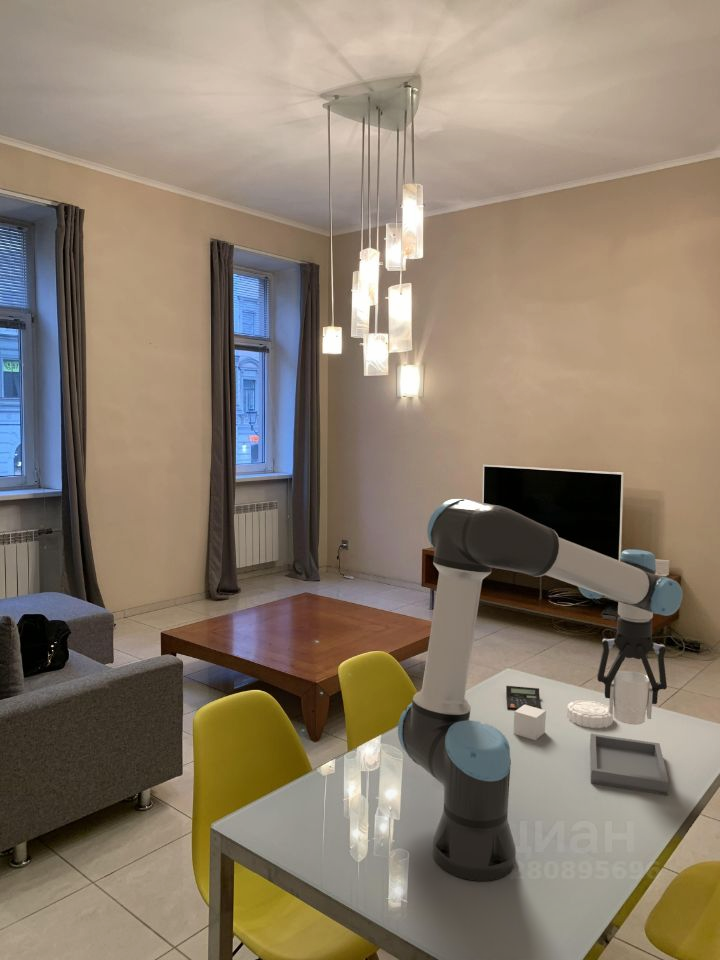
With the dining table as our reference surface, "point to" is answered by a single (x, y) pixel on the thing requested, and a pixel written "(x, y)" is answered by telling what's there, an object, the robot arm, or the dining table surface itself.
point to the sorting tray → (628, 764)
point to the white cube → (529, 722)
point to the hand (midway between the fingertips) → (629, 713)
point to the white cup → (630, 697)
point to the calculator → (522, 697)
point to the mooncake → (589, 714)
